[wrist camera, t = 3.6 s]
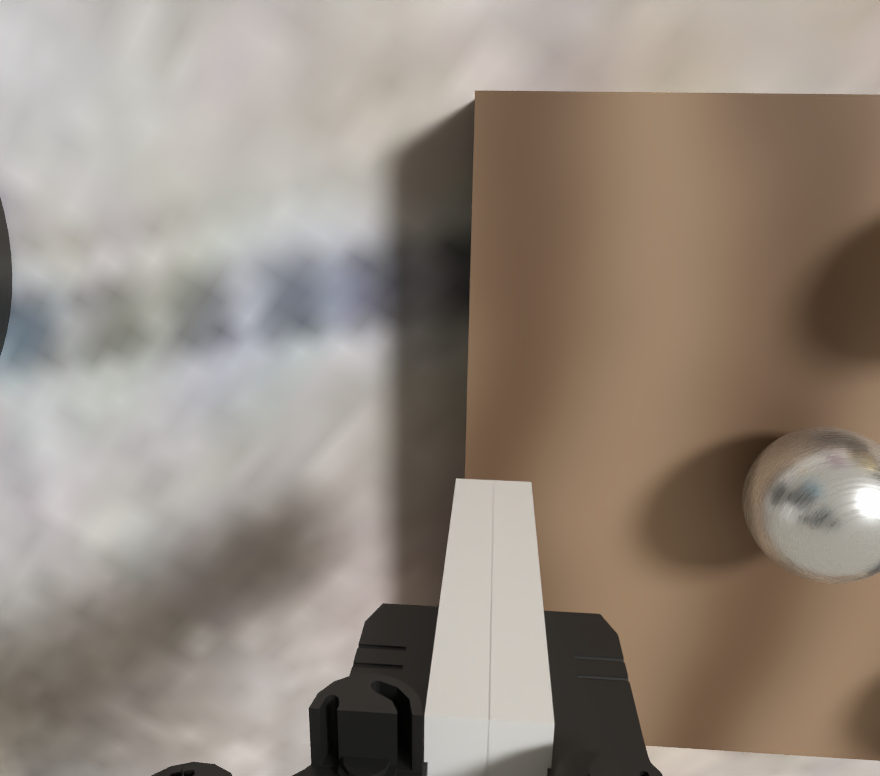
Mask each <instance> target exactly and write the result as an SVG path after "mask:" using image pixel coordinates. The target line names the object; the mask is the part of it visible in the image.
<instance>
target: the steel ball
mask: <svg viewBox="0 0 880 776" xmlns="http://www.w3.org/2000/svg"><path fill="white" fill-rule="evenodd" d="M742 505H743V512H744V517H745V521H746V524H747V527H748V529H749V531H750V533H751V535H752V537H753V539H754V540H755V542H756V543H757V545H758V546H759V547H760V548H761V550H762V551H763V552H764V553H765V554H766V555H767V556H768V557H769V558H770V559H771V560H772V561H773V562H775V563H776V564H777V565H779V566H780V567H782V568H783V569H785V570H787V571H789V572H791V573H793V574H795V575H797V576H799V577H802V578H804V579H807V580H812V581H816V582H820V583H829V584H840V583H851V582H856V581H861V580H864V579H867V578H870V577H872V576H874V575H876V574H878V573H880V444H879V443H877V442H875V441H874V440H872V439H870V438H868V437H866V436H864V435H862V434H859V433H856V432H853V431H850V430H846V429H842V428H834V427H812V428H805V429H801V430H798V431H794V432H791V433H789V434H786V435H784V436H782V437H780V438H778V439H777V440H775V441H774V442H772V443H771V444H769V445H768V446H767V447H766V448H765V449H764V450H763V451H762V452H761V453H760V454H759V455H758V456H757V458H756V459H755V460H754V462H753V464H752V465H751V467H750V469H749V471H748V473H747V476H746V478H745V482H744V486H743V496H742Z"/></svg>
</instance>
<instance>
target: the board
mask: <svg viewBox="0 0 880 776" xmlns="http://www.w3.org/2000/svg"><path fill="white" fill-rule="evenodd" d="M812 427H834V428H842V429H846V430H850V431H853V432H856V433H859V434H862V435H864V436H866V437H868V438H870V439H872V440H874V441H875V442H877V443H879V444H880V95H852V94H753V93H654V92H555V91H475V113H474V150H473V188H472V225H471V262H470V300H469V337H468V375H467V412H466V450H465V479H478V480H500V481H522V482H531V483H532V494H533V504H534V515H535V525H536V536H537V546H538V556H539V567H540V577H541V588H542V598H543V609H544V611H560V612H577V613H595V614H601V615H602V617H603V618H604V619H605V620H606V621H607V622H608V624H609V625H610V626H611V627H612V628H613V629H614V630H615V632H616V633H617V634H618V637H619V641H620V645H621V649H622V653H623V657H624V662H625V665H626V669H627V673H628V681H629V682H630V686H631V690H632V694H633V698H634V702H635V706H636V710H637V714H638V718H639V722H640V726H641V730H642V735H643V739H644V743H645V745H646V746H662V747H677V748H693V749H708V750H724V751H739V752H755V753H770V754H786V755H801V756H816V757H832V758H847V759H863V760H878V761H880V573H878V574H876V575H874V576H872V577H870V578H867V579H864V580H861V581H856V582H851V583H840V584H829V583H820V582H816V581H812V580H807V579H804V578H802V577H799V576H797V575H795V574H793V573H791V572H789V571H787V570H785V569H783V568H782V567H780V566H779V565H777V564H776V563H775V562H773V561H772V560H771V559H770V558H769V557H768V556H767V555H766V554H765V553H764V552H763V551H762V550H761V548H760V547H759V546H758V545H757V543H756V542H755V540H754V539H753V537H752V535H751V533H750V531H749V529H748V527H747V524H746V521H745V517H744V512H743V505H742V496H743V486H744V482H745V478H746V476H747V473H748V471H749V469H750V467H751V465H752V464H753V462H754V460H755V459H756V458H757V456H758V455H759V454H760V453H761V452H762V451H763V450H764V449H765V448H766V447H767V446H768V445H769V444H771V443H772V442H774V441H775V440H777V439H778V438H780V437H782V436H784V435H786V434H789V433H791V432H794V431H798V430H801V429H805V428H812Z"/></svg>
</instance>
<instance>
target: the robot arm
mask: <svg viewBox="0 0 880 776" xmlns="http://www.w3.org/2000/svg"><path fill="white" fill-rule="evenodd" d="M11 298H12V264H11V250H10V243H9V235H8V229H7V224H6V219H5V214H4V210H3V206H2V202H1V199H0V355H1V352H2V349H3V345H4V341H5V337H6V333H7V328H8V322H9V317H10V308H11ZM309 722H310V743H311V765H310V766H308V767H307V768H306V769H304V770H302V771H300V772H298V773H296V774H295V775H293V776H662V774H661V772H660V771H659V770H658V769H657V768H656V767H655V766H653V765H652V764H651V762H650V760H649V757H648V755H647V751H646V747H645V743H644V739H643V735H642V730H641V726H640V722H639V718H638V714H637V710H636V706H635V702H634V698H633V694H632V690H631V686H630V682H629V681H628V673H627V669H626V665H625V662H624V657H623V653H622V649H621V645H620V641H619V637H618V634H617V633H616V632H615V630H614V629H613V628H612V627H611V626H610V625H609V624H608V622H607V621H606V620H605V619H604V618H603V617H602V615H601V614H595V613H577V612H560V611H544V609H543V598H542V588H541V577H540V567H539V556H538V546H537V536H536V525H535V515H534V504H533V494H532V483H531V482H522V481H500V480H478V479H456V483H455V490H454V498H453V505H452V513H451V520H450V528H449V535H448V543H447V550H446V558H445V565H444V573H443V580H442V588H441V595H440V603H439V607H434V606H417V605H399V604H382V605H381V606H380V607H379V608H378V609H377V610H376V611H375V612H374V613H373V614H372V615H371V616H370V617H369V618H368V619H367V620H366V621H365V624H364V627H363V631H362V634H361V638H360V641H359V648H357V652H356V655H355V659H354V664H353V667H352V669H351V673H350V676H349V677H346V678H343V679H340V680H337V681H334V682H333V683H331V684H330V685H329V686H327V687H326V688H325V689H323V690H322V691H320V692H319V693H318V694H317V696H316V697H315V699H314V701H313V702H312V704H311V705H310V707H309ZM152 776H232V774H231V773H230V772H228V771H226V770H224V769H223V768H221V767H219V766H217V765H215V764H208V763H199V762H191V763H186V764H180V765H175V766H171V767H168V768H166V769H164V770H162V771H160V772H158V773H156V774H154V775H152Z"/></svg>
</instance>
